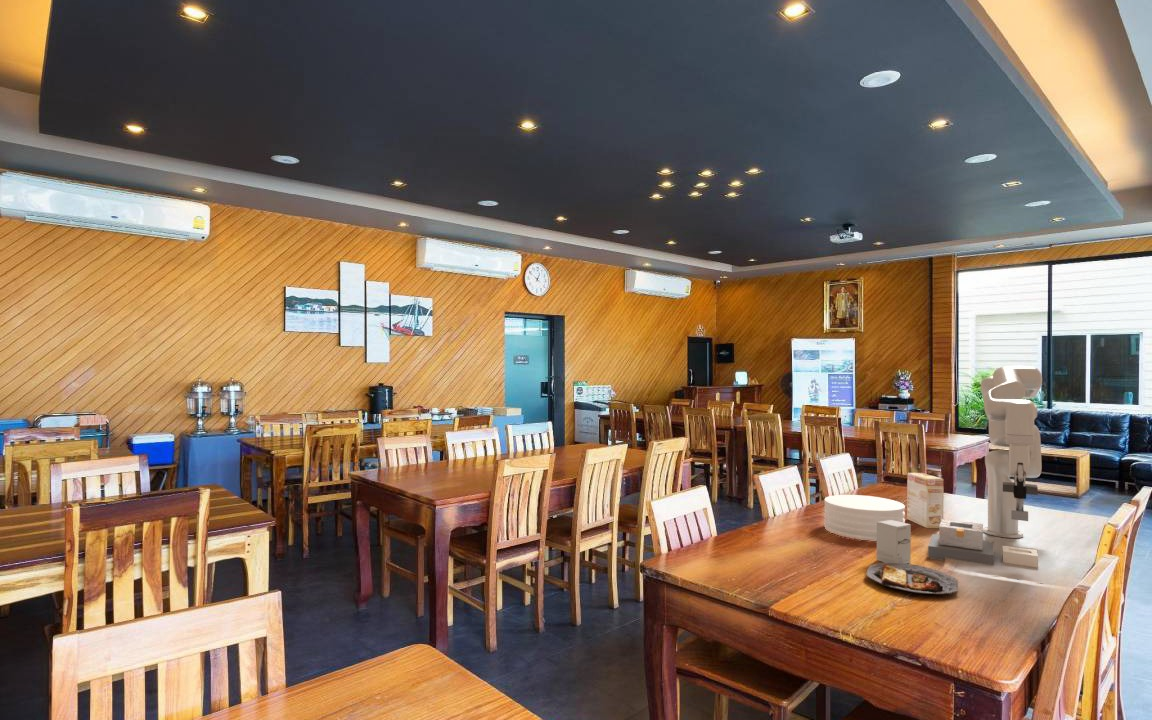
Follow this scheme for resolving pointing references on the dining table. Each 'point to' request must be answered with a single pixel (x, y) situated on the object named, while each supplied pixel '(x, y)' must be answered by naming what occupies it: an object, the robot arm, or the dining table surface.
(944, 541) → the chuck
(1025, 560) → the key stand
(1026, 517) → the block
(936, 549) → the grey flat slab
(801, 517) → the dining table surface
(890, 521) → the supplement box
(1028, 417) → the robot arm
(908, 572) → the food plate
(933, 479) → the coffeecake box
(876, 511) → the plate stack
